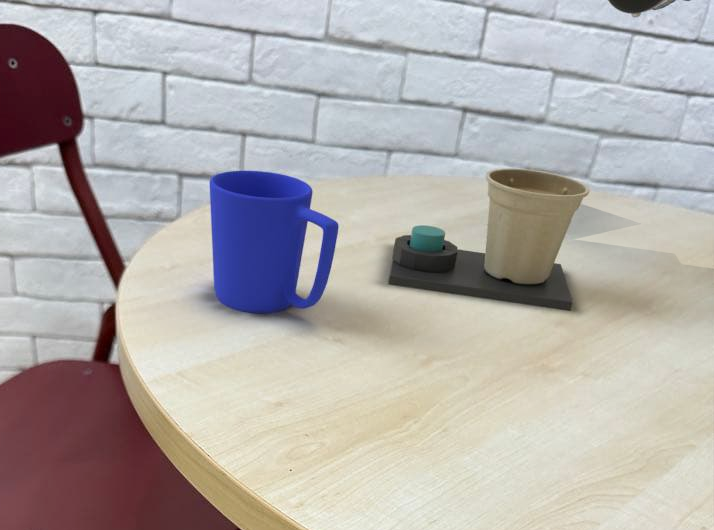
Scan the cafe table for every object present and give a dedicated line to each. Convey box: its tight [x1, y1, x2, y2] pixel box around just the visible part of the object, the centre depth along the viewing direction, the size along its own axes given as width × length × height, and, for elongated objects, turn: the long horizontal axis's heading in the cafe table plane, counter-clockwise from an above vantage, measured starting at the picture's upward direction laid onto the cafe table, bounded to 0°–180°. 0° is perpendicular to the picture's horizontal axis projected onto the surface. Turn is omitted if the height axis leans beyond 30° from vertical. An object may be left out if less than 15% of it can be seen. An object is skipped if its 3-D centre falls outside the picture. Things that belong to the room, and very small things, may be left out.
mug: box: [209, 170, 339, 314], centre depth 69 cm, size 8×12×10 cm
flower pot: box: [484, 167, 591, 284], centre depth 80 cm, size 9×9×9 cm
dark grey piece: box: [387, 234, 573, 311], centre depth 82 cm, size 17×11×3 cm, turn 82°
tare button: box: [409, 224, 446, 252], centre depth 82 cm, size 3×3×2 cm
